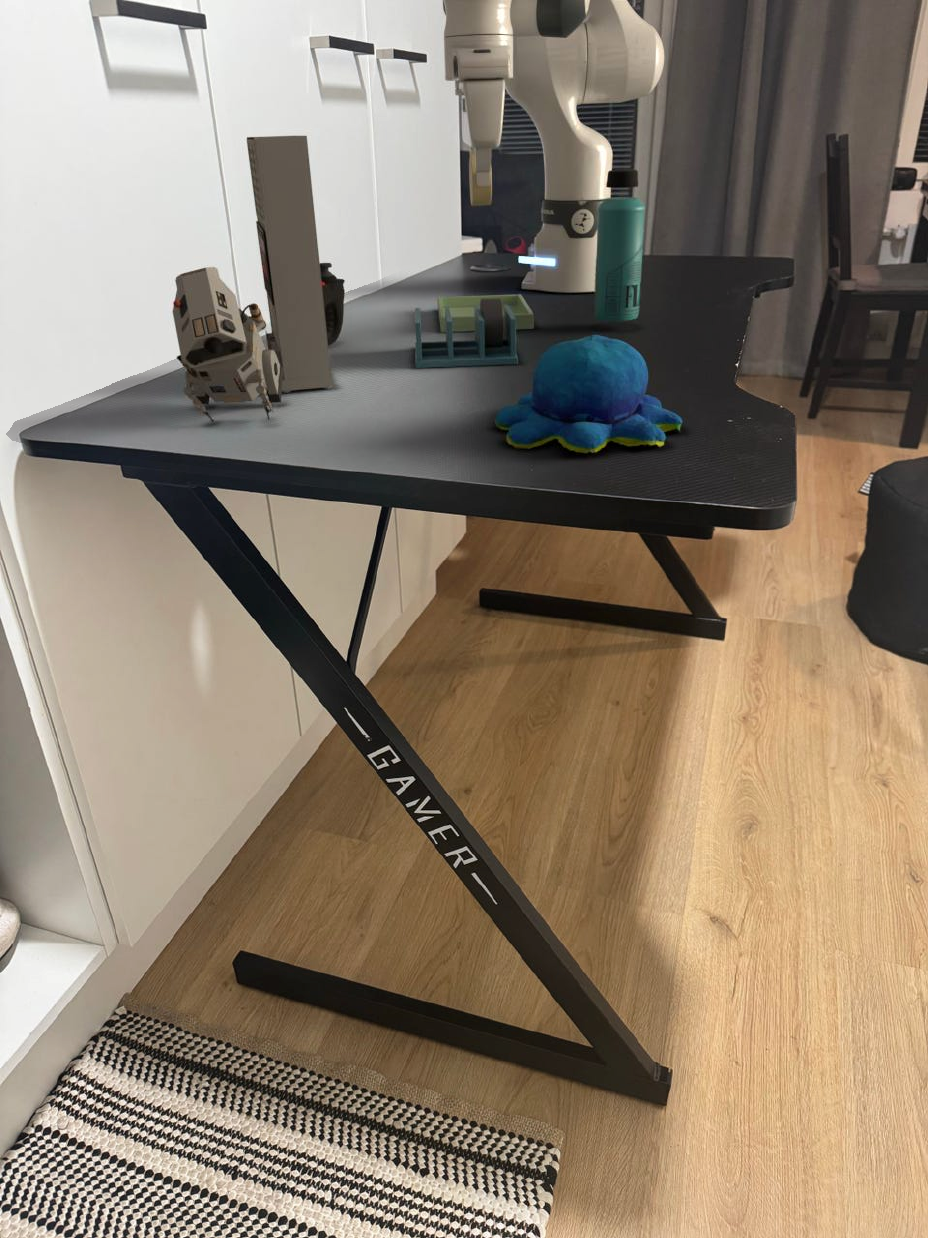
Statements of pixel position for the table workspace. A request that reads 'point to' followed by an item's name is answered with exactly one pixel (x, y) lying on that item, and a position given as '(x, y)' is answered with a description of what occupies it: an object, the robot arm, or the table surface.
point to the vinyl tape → (492, 321)
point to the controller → (332, 302)
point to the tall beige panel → (290, 259)
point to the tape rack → (466, 345)
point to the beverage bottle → (619, 251)
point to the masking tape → (478, 193)
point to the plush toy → (588, 400)
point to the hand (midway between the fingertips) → (480, 183)
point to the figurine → (222, 344)
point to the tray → (465, 307)
